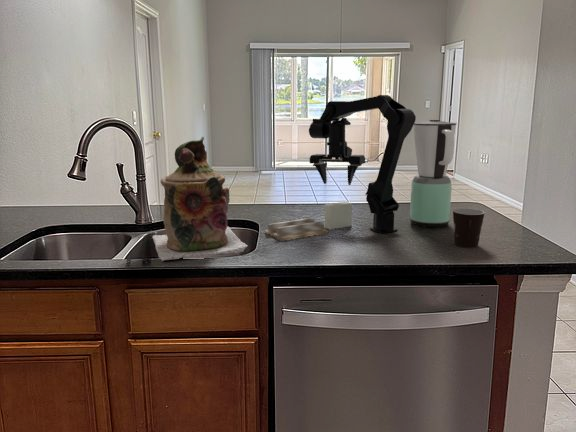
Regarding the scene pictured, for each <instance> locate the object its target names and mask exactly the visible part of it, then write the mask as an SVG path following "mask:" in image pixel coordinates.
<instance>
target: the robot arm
mask: <svg viewBox="0 0 576 432" xmlns="http://www.w3.org/2000/svg"><path fill="white" fill-rule="evenodd" d="M371 110H372V111H373V110H379V112H380V113H381V115H382V117H383V118H384V119H386V120H387V123H386V124H387V125H386V129H387V134H388V137H387V142H386V144H385V148H384V151H383V156H382V160H381V163H380V166H379V170H378V174H377V176H376V177H377V178H376V179H375V181H373V182H369V183H368V185H367V190H366V192H365V196H366V199H365V200H366V202H367V204H368V208H369V211H370V213H371V214H373V217H372V218H373V220H372V221H373V225H372V226H373V227H370V228H369V230H370V231H371V230H372V231H373V232H377V233H380V234H387V233H393V232H397V231H398V228H395V226H394V225H395V212H396V211H397V212H398V209H399V207H400V204H399V203H398V202H397V201H396V199H395V197H394V187H393V180H394V177H395V176H394V175H395V171H396V170H397V169H396V168H397V164H398V162H399V158H400V154H401V152H402V147H403V145H404V141H405V139H406V138H407V136H408V135H409V134H410V132H411V131H412V129H413V128H414V123H416V119H417V118H416V114H415V113H414V111H413V110H412V109H410V108H406V107H405V106H404V105H403V104H401V103H400V102H398V101H397V100H395V99H394V98H392V97H391V96H390V95H388V94H378V95H376V96H372V97H366V98H362V99H361V98H360V99H354V100H351V101H350V100H349V101H347V100H343V101H342V100H331V101H330V100H329V101H328V102H327V103H326V105H325V108H324V110H323V113H322V114H321V116H320V117H319V118H312V123H310V125H309V128H308V134H309V136H310V137H311V138H312V139H325V140H326V139H328V140H327V141H328V142H326V146H328V154H325V153H323V154H322V153H316V154H311V155H310V156H309V164H312V166H313V167H315V168H316V170H317V172H318V175H319V176H320V177H321V178H320V179H321V180H322V183H323V184H324V185H325V184H327V180H328V179H327V166H328V163H329V162H331V163H348V164H349V165H347V184H348V186H351V184H352V181H353V178H354V177H355V173H356V171H357V169H358V168H359V167H361V166H362V165H364V164H366V157H365V155H364V154H353V149H352V148H351V147H350V146H348V142H347V141H346V126H350V125H351V124H352V123H351V122H350V121H349V120H348V119H347V117H350V116H352V115H353V114H355V113H361V112H367V111H371ZM327 162H328V163H327Z"/></svg>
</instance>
